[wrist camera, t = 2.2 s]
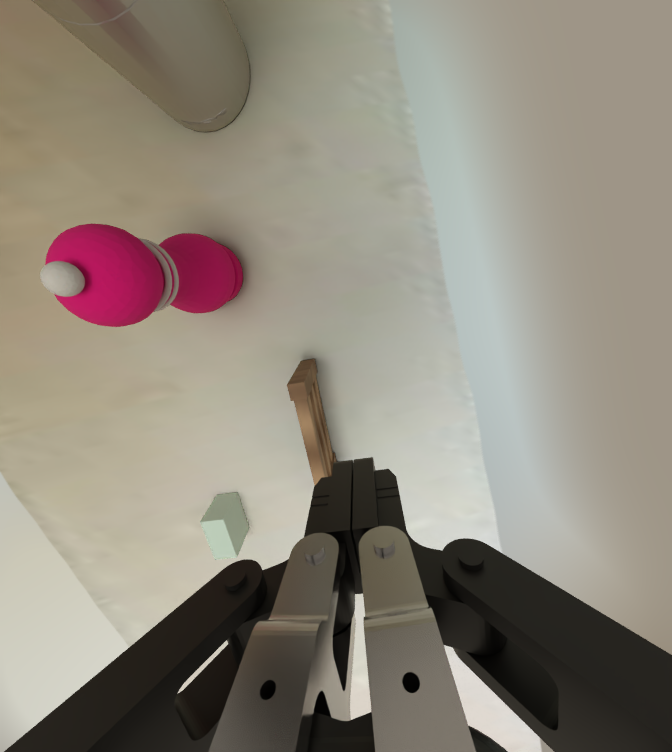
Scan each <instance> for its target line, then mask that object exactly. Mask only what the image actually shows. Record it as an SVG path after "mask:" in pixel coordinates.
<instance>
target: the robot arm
mask: <svg viewBox="0 0 672 752" xmlns="http://www.w3.org/2000/svg"><path fill="white" fill-rule="evenodd" d="M32 1H33V2H34V3H36V4H37V5H38V6H39V7H41V8H42V9H43V10H44V11H45V12H47V13H48V14H49V15H50V16H51V17H53V18H54V19H55V20H56V21H57V22H59V23H60V24H61V25H62V26H63V27H65V28H66V29H67V30H68V31H69V32H70V33H72V34H73V35H74V36H75V37H76V38H78V39H79V40H80V41H81V42H82V43H84V44H85V45H86V46H87V47H88V48H90V49H91V50H92V51H93V52H94V53H96V54H97V55H98V56H99V57H100V58H102V59H103V60H104V61H105V62H106V63H108V64H109V65H110V66H111V67H112V68H114V69H115V70H116V71H117V72H118V73H119V74H121V75H122V76H123V77H124V78H125V79H127V80H128V81H129V82H130V83H131V84H133V85H134V86H135V87H136V88H137V89H139V90H140V91H141V92H142V93H143V94H145V95H146V96H147V97H148V98H149V99H150V100H152V101H153V102H154V103H155V104H156V105H158V106H159V107H160V108H161V109H162V110H164V111H165V112H166V113H167V114H168V115H170V116H171V117H172V118H173V119H174V120H176V121H177V122H179V123H180V124H182V125H183V126H185V127H187V128H189V129H192V130H195V131H201V132H209V131H215V130H218V129H220V128H223V127H225V126H226V125H228V124H229V123H230V122H232V121H233V120H234V118H235V117H236V116H237V115H238V114H239V113H240V111H241V109H242V107H243V105H244V103H245V100H246V97H247V94H248V90H249V82H250V69H249V61H248V56H247V52H246V49H245V46H244V44H243V42H242V39H241V37H240V35H239V33H238V31H237V29H236V27H235V25H234V23H233V21H232V18H231V16H230V14H229V12H228V10H227V8H226V6H225V4H224V2H223V0H32ZM361 593H363V597H364V607H365V617H364V633H365V644H366V655H367V666H368V677H369V688H370V699H371V710H372V712H370V713H368V714H365V715H363V716H360V717H358V718H355V719H353V720H351V717H350V692H351V678H352V665H353V652H354V639H355V625H356V619H355V614H354V610H355V594H361ZM226 640H227V641H228V645H227V646H226V647H225V648H224V649H223V650H222V651H221V652H220V653H219V654H218V655H217V656H216V657H215V658H214V659H213V660H212V661H211V662H210V663H209V664H208V665H207V666H206V667H205V669H204V670H203V671H202V672H201V673H200V674H199V675H198V676H197V677H196V678H195V679H194V680H193V681H192V682H191V683H190V684H189V685H188V686H187V687H186V688H185V689H184V690H183V691H181V692H180V693H178V691H179V689H180V688H181V686H182V685H183V684H184V682H185V681H186V680H187V679H188V678H189V677H190V676H191V675H192V674H193V673H194V672H195V671H196V670H197V669H198V668H199V667H200V666H201V665H202V664H203V663H204V662H205V661H206V660H207V659H208V658H209V657H210V656H211V655H212V654H213V653H214V652H215V651H216V650H217V649H218V648H219V647H220V646H221V645H222V644H223V643H224V642H225V641H226ZM444 645H446V646H450V647H453V649H454V651H455V653H456V654H457V656H458V657H459V658H460V659H461V660H462V661H463V662H464V663H465V664H466V665H467V666H468V667H469V668H470V669H471V670H472V671H473V672H474V673H475V674H476V675H477V676H478V677H479V678H480V679H481V680H482V681H483V682H484V683H485V684H486V685H487V686H488V687H489V688H490V689H491V690H492V691H493V692H494V693H495V694H496V695H497V696H498V697H499V698H500V699H501V700H502V701H503V702H504V703H505V704H506V705H507V706H508V707H509V708H510V709H511V710H512V711H513V712H514V713H516V714H517V715H518V716H519V717H520V718H521V719H522V720H523V721H524V722H525V723H526V724H527V725H528V726H529V727H530V728H531V729H532V730H533V731H534V732H535V733H536V734H537V735H538V736H539V737H540V738H541V739H542V740H543V741H544V742H545V743H546V744H547V745H548V746H549V747H550V748H551V749H552V750H553V751H554V752H672V655H671V654H669V653H667V652H666V651H664V650H662V649H661V648H659V647H657V646H656V645H654V644H652V643H650V642H649V641H647V640H646V639H644V638H642V637H640V636H639V635H637V634H635V633H634V632H632V631H630V630H629V629H627V628H626V627H624V626H622V625H621V624H619V623H617V622H615V621H614V620H612V619H611V618H609V617H607V616H606V615H604V614H602V613H601V612H599V611H597V610H595V609H594V608H592V607H591V606H589V605H587V604H586V603H584V602H582V601H581V600H579V599H577V598H575V597H574V596H572V595H571V594H569V593H567V592H566V591H564V590H562V589H561V588H559V587H557V586H555V585H554V584H552V583H551V582H549V581H547V580H546V579H544V578H542V577H540V576H539V575H537V574H535V573H534V572H532V571H531V570H529V569H527V568H526V567H524V566H522V565H521V564H519V563H517V562H516V561H514V560H512V559H511V558H509V557H507V556H505V555H504V554H502V553H501V552H499V551H497V550H496V549H494V548H492V547H491V546H489V545H487V544H485V543H483V542H481V541H478V540H474V539H458V540H454V541H452V542H450V543H449V544H447V545H446V546H445V548H444V549H443V551H441V550H435V549H430V548H426V547H424V546H421V545H419V544H418V543H416V542H415V541H414V540H413V539H412V538H411V537H410V536H409V535H408V533H407V530H406V526H405V521H404V516H403V511H402V505H401V500H400V495H399V490H398V485H397V480H396V476H395V475H394V474H393V473H392V472H391V471H390V470H389V469H384V470H376V471H375V466H374V461H373V457H371V458H363V459H355V460H354V463H353V460H348V461H341V462H334V463H333V469H332V476H330V477H322V478H321V479H320V480H319V481H318V483H317V484H316V485H315V487H314V491H313V496H312V500H311V507H310V510H309V515H308V520H307V525H306V530H305V535H304V538H302V539H301V540H300V541H299V542H298V543H297V544H296V545H295V546H294V548H293V549H292V552H291V554H290V557H289V559H288V560H286V561H285V562H283V563H280V564H278V565H276V566H273V567H270V568H268V569H265V570H263V571H262V568H261V566H260V565H259V564H258V563H257V562H256V561H253V560H240V561H237V562H235V563H232V564H231V565H229V566H227V567H226V568H225V569H223V570H222V571H221V572H220V573H218V574H217V575H216V576H215V577H214V578H212V579H211V580H210V581H209V582H208V583H206V584H205V585H204V586H203V587H202V588H200V589H199V590H198V591H197V592H196V593H194V594H193V595H192V596H191V597H190V598H188V599H187V600H186V601H185V602H184V603H182V604H181V605H180V606H179V607H178V608H176V609H175V610H174V611H173V612H171V613H170V614H169V615H168V616H167V617H165V618H164V619H163V620H162V621H161V622H159V623H158V624H157V625H156V626H155V627H153V628H152V629H151V630H150V631H149V632H147V633H146V634H145V635H144V636H143V637H141V638H140V639H139V640H138V641H137V642H135V643H134V644H133V645H132V646H131V647H129V648H128V649H127V650H126V651H125V652H123V653H122V654H121V655H120V656H119V657H117V658H116V659H115V660H114V661H113V662H111V663H110V664H109V665H108V666H107V667H105V668H104V669H103V670H102V671H101V672H99V673H98V674H97V675H96V676H95V677H93V678H92V679H91V680H90V681H88V682H87V683H86V684H85V685H84V686H83V687H81V688H80V689H79V690H78V691H76V692H75V693H74V694H73V695H72V696H71V697H69V698H68V699H67V700H66V701H65V702H63V703H62V704H61V705H60V706H58V707H57V708H56V709H55V710H54V711H52V712H51V713H50V714H49V715H48V716H46V717H45V718H44V719H43V720H42V721H40V722H39V723H38V724H37V725H36V726H34V727H33V728H32V729H31V730H30V731H28V732H27V733H26V734H25V735H24V736H23V737H21V738H20V739H19V740H18V741H16V742H15V743H14V744H13V745H12V746H10V747H9V748H8V749H7V750H6V751H4V752H507V751H506V750H505V749H504V748H503V747H501V746H500V745H499V744H498V743H496V742H495V741H494V740H492V739H491V738H490V737H488V736H486V735H485V734H483V733H481V732H480V731H478V730H477V729H474V728H472V727H470V726H468V724H467V720H466V717H465V714H464V711H463V707H462V704H461V701H460V697H459V694H458V691H457V688H456V684H455V681H454V678H453V675H452V671H451V668H450V665H449V661H448V658H447V655H446V652H445V648H444ZM177 693H178V694H177Z"/></svg>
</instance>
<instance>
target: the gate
mask: <svg viewBox="0 0 672 752" xmlns="http://www.w3.org/2000/svg"><path fill="white" fill-rule="evenodd" d="M316 374H317V368H316V363H315V359H310V360H304V361H301V362H300V363H299V365H298V367H297V369H296V370H295V372H294V374H293V375H292V377H291V379H290V381H289V382H288V384H287V387H288V391H289V395H290V399H291V401H294V403H295V407H296V411H297V415H298V419H299V423H300V427H301V431H302V435H303V439H304V444H305V448H306V452H307V456H308V460H309V464H310V468H311V472H312V476H313V480H314V484H315V485H316V484H317V483H318V481H319V480H320V479H321V478H322V477H330V476H332V469H333V463H334V462H337V461H336V456H335V453H332V449H331V444H330V439H329V435H328V430H327V426H326V421H325V416H324V412H323V407H322V403H321V398H320V393H319V389H318V384H317V380H316Z"/></svg>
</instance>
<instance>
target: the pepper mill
mask: <svg viewBox="0 0 672 752" xmlns="http://www.w3.org/2000/svg"><path fill="white" fill-rule="evenodd" d="M40 277H41V282H42V283H43V285H44V286H45V288H47V289H48V290H49V291H50V292H52V293H54V295H55V296H56V298H57V300H58V301H59V302H60V303H61V304H62V305H63V306H64V307H65V308H66V309H67V310H68V311H70V312H71V313H73V314H75V315H76V316H78V317H79V318H81V319H83V320H85V321H88V322H90V323H94V324H97V325H102V326H112V327H120V326H127V325H131V324H135V323H138V322H140V321H142V320H144V319H145V318H147V317H148V316H149V315H150V314H151V313H152V312H155V311H159V310H162V309H164V308H166V307H167V306H169V305H172V306H174V307H175V308H178V309H180V310H183V311H186V312H191V313H206V312H211V311H214V310H216V309H218V308H220V307H221V306H223V305H224V304H225V303H226V302H228V301H230V300H232V299H233V298H234V297H235V296H236V295H237V294H238V292H239V291H240V289H241V286H242V282H243V272H242V267H241V265H240V262H239V260H238V259H237V257H236V256H235V254H234V253H233V252H232V251H231V250H229V249H228V248H227V247H225V246H223V245H221V244H218V243H216V242H215V241H214V240H212V239H210V238H208V237H206V236H203V235H200V234H178V235H175V236H172V237H170V238H168V239H166V240H164V241H163V242H162V243H161V244H160V245H157V244H155V243H153V242H151V241H149V240H145V239H138V238H137V237H135V236H133V235H132V234H130V233H128V232H127V231H125V230H123V229H120V228H117V227H113V226H109V225H103V224H85V225H79V226H76V227H73V228H71V229H68V230H66V231H64V232H63V233H61V234H60V235H59V236H58V237H57V238H56V239H55V240H54V241H53V243H52V245H51V246H50V248H49V250H48V253H47V256H46V264H45V266H44V267H43V268H42V270H41V273H40Z"/></svg>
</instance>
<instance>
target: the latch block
mask: <svg viewBox="0 0 672 752" xmlns="http://www.w3.org/2000/svg"><path fill="white" fill-rule="evenodd" d="M200 523H201V526H202V528H203V531H204V533H205V536H206V538H207V541H208V544H209V546H210V549H211V551H212V554H213V556H214V559H215V560H217V559H227V558H236V557H237V556H238V554H239V551H240V549H241V547H242V544H243V542H244V539H245V537H246V534H247V532H248V529H249V525H248V522H247V519H246V516H245V513H244V510H243V507H242V504H241V501H240V498H239V495H238V492H236V493H228V494H220V495H216V497H215V499H214V500H213V502H212V503H211V505H210V507H209V508H208V510H207V512H206V513H205V515H204V517H203V518H202V520H201V521H200Z"/></svg>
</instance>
